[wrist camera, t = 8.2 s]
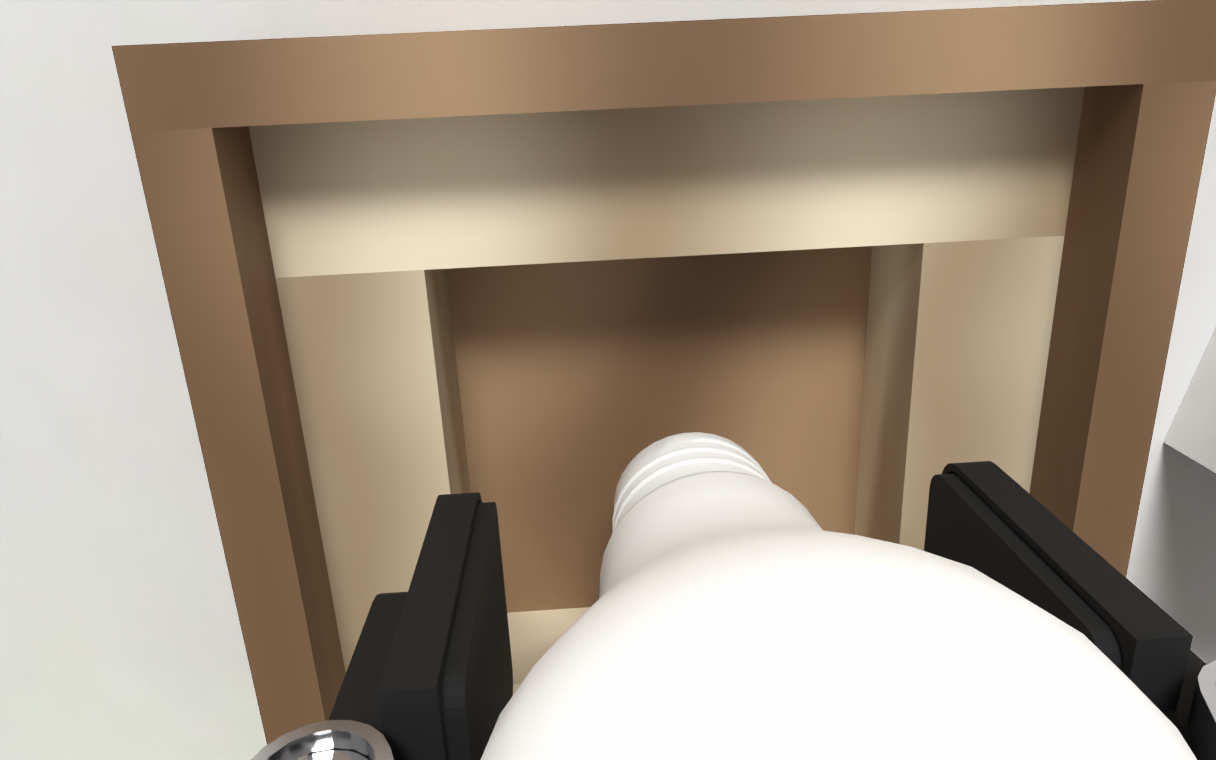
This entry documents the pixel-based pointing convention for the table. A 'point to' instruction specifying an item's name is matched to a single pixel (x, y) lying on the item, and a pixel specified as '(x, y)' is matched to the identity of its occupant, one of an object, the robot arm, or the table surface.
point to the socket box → (658, 281)
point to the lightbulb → (806, 643)
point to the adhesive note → (1198, 414)
